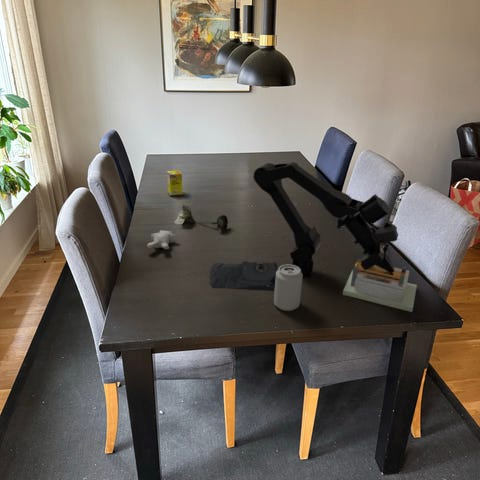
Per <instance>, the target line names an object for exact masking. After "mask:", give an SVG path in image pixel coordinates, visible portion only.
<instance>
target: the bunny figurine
mask: <svg viewBox="0 0 480 480" xmlns="http://www.w3.org/2000/svg"><path fill="white" fill-rule="evenodd" d="M150 237H151V242H149V243H147V245H146V248H147V249H152V248H153V247H154V248H156V249H159V248H162V249H164V250H169V249H170V245H169V244H171V243H175V242H178V241H177V240H178V235H177V234H173V231H172V230H162V229H161V230H159V232H156V233H151V234H150Z"/></svg>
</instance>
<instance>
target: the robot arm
mask: <svg viewBox="0 0 480 480" xmlns="http://www.w3.org/2000/svg"><path fill="white" fill-rule="evenodd" d="M283 179H290V180H291V181H293V182H294V183H295V184H297V185H298V186H300V187H301V188H302V189H303V190H305V191H306V192H308V193H309V194H310V195H312V196H313V197H315V198H316V199H317V200H319V201H320V202H321V204H322V205H323V207H324V208H325V209H326V210H327V212H328V213H330V215H331V216H333V217H334V218H336V219H337V226H336V229H341V228H342V227H345V228H346V230H347V231H348V232H349V234H350V235H351V236H352V237H353V239H354V241H353V242H354V244H355V245H357V244H358V245H359V246H360V247H361V249H362V254H363V255H364V256H362V259H361V267H362V268H363V269H364V270H367V269H369V268H371V267H373V266H374V265H376V266H378V267H380V268H382V269H384V270H386V271H388V272H390V273H393V272H394V271H395V270H394V268H395V267H394V265H393V263H392V260H391V258H390V255H389V248H390V247H389V246H390V244H387V245H384V243H390V242H391V243H392V242H396V241H397V240H398V237H399V233H398V227H397V226H396V225H395V224H393V223H392V222H391V221H385V222H384V225H383V227H380V228H378V229H377V228H376V227H375V226H373V225H372V226H370V224H375V223H376V222H378V221H379V220H381V219H383V218H384V217H387V215H389V214H391V209H390V206H389V205H388V203H387V202H386V200H383V199H382V198H381V197H379V196H378V195H377V194H376V193H375V194H373V195H371V196H370V198H368V199H367V200H365V201H361V200H358V199H355V198H352V197H351V196H350V195H348V194H346V193H345V192H343V191H340V190H339V189H333V188H331V187H329V186H328V185H326V184H324V182H322V181H320V180H319V179H318V178H316V177H315V176H314V175H312V174H311V173H309V172H308V171H306V170H305V169H304V168H302V167H301V166H299V164H298V163H296V162H293V161H291V162H287V163H286V162H284V163H277V164H274V163H270V162H268V163H265V164H262V165H261V166H260V167H258V168H256V169H255V170H254V172H253V180H254V182H255V184H256V185H257V186H258V187H259V188H260V189H261V190H262V191H263V192H265V193H266V194H268V195H269V196H270V198H271V199H272V201H273V203H274V204H275V206H276V207H277V208H278V211H279V212H280V213H281V215H282V217H283V219H284V220H285V222H286V223H287V225H288V227H289V228H290V231H292V233H293V238H294V244H295V247H294V248H293V249H292V251H290V253H289V254H290V258H291V264H290V265H295V266H297V267H299V268H300V269H301V273H302V274H303V277H304V278H311V277H312V273H313V271H314V270H313V269H314V258H313V256H314V255H315V253H316V252H317V251H318V249H319V248H320V247H321V244H322V240H321V236H322V235H321V234H320V233H319V232H318V230H317V228H316V226H315V225H313V226H311V227H310V226H309V225H307V224H306V223H305V221H304V219H303V218H302V216H301V215H300V214H301V213H299V211H298V209H297V208H296V207H295V205H294V203H293V202H292V200H291V199H290V197H289V195H288V193H287V191H286V190H285V188H284V187H283V183H282V180H283ZM382 244H383V245H382ZM303 277H302V278H303Z"/></svg>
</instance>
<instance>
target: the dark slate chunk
mask: <svg viewBox="0 0 480 480" xmlns="http://www.w3.org/2000/svg"><path fill="white" fill-rule="evenodd" d="M277 270H278V264H277V262H275V261H273V262H265V261H264V262H263V263H258V262H257V261H251V262H250V261H246V260H245V261H242V262H241V263H224V262H214V263H212V265H211V268H210V271H209V284H210V286H211V288H212V289H230V290H250V291H253V290H255V291H275V280H276V272H277Z"/></svg>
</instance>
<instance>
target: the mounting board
mask: <svg viewBox="0 0 480 480" xmlns="http://www.w3.org/2000/svg"><path fill="white" fill-rule="evenodd" d="M352 274H353V269H352V270H351V272H350V275H349V277H348V279H347V281H346V283H345V286H344V288H343V289H342V295H343V296H347V297H351V298H355V299H359V300H363V301H368V302H369V303H371V302H372V303H374V304H379V305H382V306H386V307H391V308H394V309H399V310H403V311H407V312H410V313H413V310H414V304H415V297H416V291H417V286H418V285H417V284H414V283H410V282H407V285H406V290H405V294H404V299H403V302H401V303H398V302H394V301H390V300H386V299H382V298H378V297H374V296H370V295H366V294H362V293H358V292H356V291H354V289H355V287H354V286H351V280H352ZM355 284H356V283H355Z"/></svg>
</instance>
